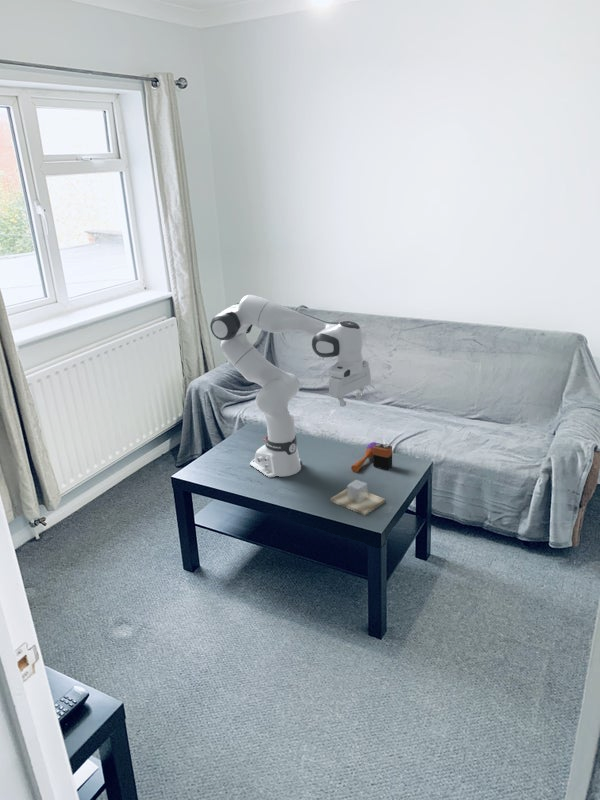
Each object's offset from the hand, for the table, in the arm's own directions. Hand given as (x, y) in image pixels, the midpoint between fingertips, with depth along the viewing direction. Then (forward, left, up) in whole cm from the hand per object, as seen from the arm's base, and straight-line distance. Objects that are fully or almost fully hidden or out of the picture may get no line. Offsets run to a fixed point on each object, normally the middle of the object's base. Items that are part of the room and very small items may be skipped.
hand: (351, 402), depth 227 cm
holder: (+10, -10, -34) cm, 37 cm away
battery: (+1, +18, -34) cm, 39 cm away
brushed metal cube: (+10, -10, -33) cm, 36 cm away
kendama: (-7, +17, -34) cm, 39 cm away
